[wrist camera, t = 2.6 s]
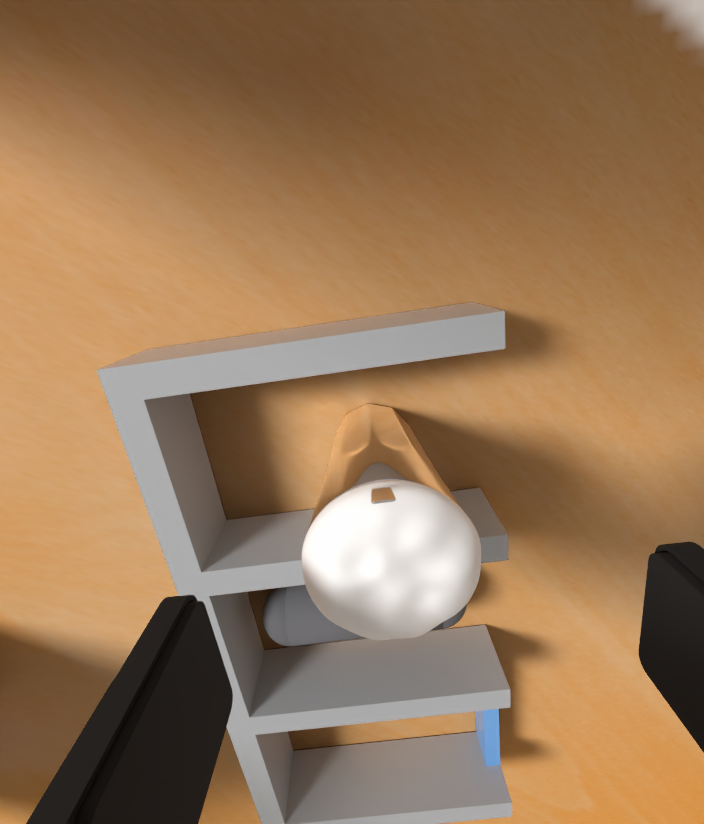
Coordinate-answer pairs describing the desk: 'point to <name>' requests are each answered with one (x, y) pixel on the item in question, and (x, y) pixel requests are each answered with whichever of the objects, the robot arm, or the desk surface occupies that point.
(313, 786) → the grey shelf rack
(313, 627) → the grey capsule
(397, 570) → the milkshake
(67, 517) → the desk surface
